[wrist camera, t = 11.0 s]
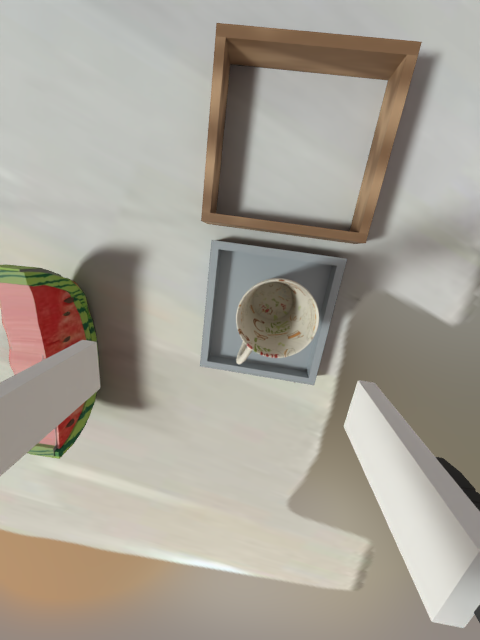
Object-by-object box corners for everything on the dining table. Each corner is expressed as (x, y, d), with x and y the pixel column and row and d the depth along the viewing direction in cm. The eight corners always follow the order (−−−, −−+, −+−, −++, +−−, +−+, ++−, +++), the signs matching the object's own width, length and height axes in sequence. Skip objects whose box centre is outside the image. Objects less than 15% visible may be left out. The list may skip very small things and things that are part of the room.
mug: (315, 289, 32) (337, 306, 23) (266, 360, 36) (268, 400, 26) (263, 258, 32) (263, 262, 22) (219, 333, 35) (203, 364, 26)
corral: (222, 51, 26) (216, 22, 23) (400, 69, 25) (421, 41, 22) (207, 223, 32) (201, 220, 28) (354, 243, 31) (365, 243, 27)
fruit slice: (106, 412, 42) (61, 459, 33) (74, 408, 43) (19, 453, 33) (92, 264, 35) (27, 270, 25) (52, 260, 35) (-27, 265, 26)
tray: (215, 240, 32) (211, 239, 30) (340, 258, 31) (347, 258, 29) (203, 358, 37) (199, 366, 35) (310, 376, 37) (314, 385, 34)
